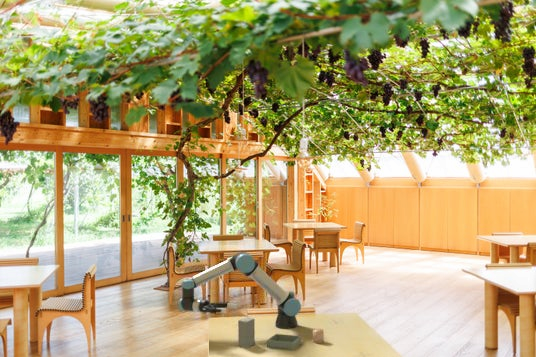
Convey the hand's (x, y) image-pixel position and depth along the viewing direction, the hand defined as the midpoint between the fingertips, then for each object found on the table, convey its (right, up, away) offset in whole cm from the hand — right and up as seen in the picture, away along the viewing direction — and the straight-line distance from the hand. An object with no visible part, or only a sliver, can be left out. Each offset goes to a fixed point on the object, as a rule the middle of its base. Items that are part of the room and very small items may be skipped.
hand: (231, 308), depth 307 cm
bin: (+32, -20, -6) cm, 38 cm away
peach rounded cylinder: (+53, -20, -1) cm, 56 cm away
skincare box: (+9, -21, -4) cm, 24 cm away
